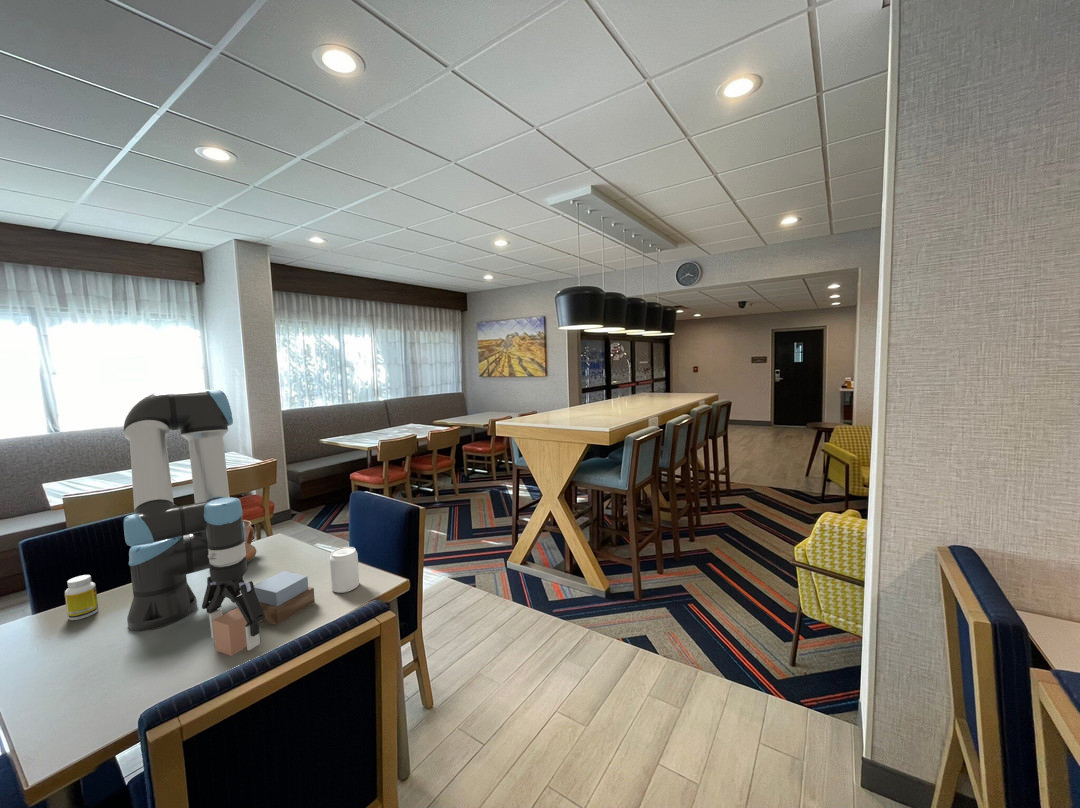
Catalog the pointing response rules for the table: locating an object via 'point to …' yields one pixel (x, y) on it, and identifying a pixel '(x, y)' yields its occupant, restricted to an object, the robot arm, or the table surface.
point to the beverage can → (344, 569)
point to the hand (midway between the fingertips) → (235, 641)
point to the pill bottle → (81, 598)
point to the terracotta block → (230, 632)
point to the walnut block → (288, 607)
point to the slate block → (281, 588)
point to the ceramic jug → (249, 541)
